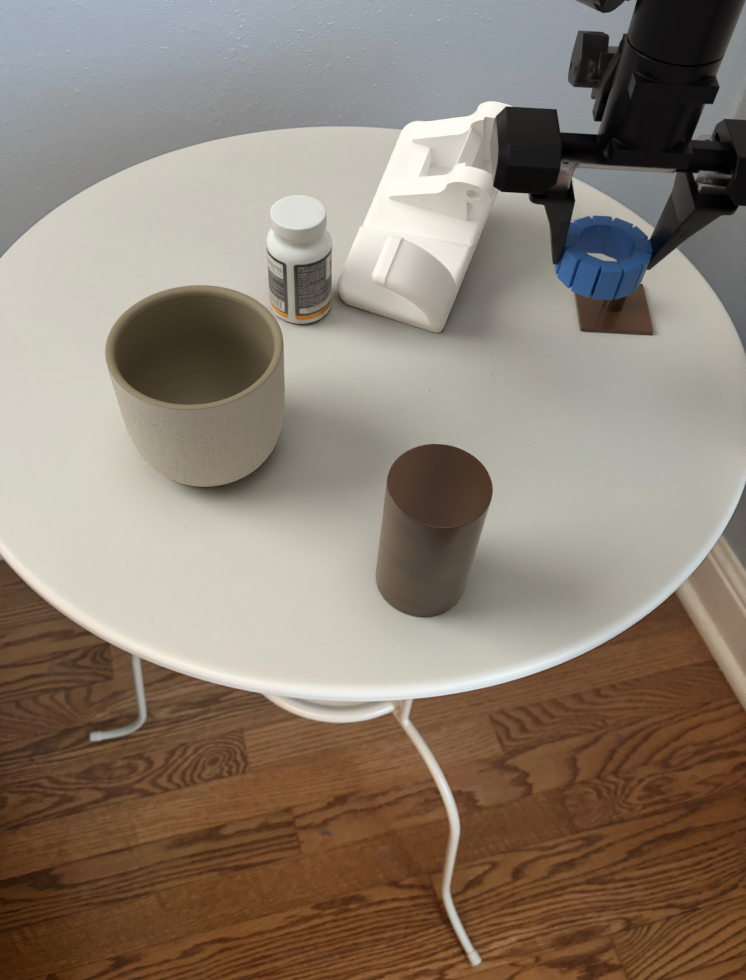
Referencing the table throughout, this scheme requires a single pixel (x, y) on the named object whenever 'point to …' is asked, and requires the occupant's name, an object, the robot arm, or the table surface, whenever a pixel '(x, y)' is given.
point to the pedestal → (431, 527)
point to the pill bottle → (299, 259)
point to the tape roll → (597, 274)
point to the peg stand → (615, 314)
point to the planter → (199, 382)
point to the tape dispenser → (424, 221)
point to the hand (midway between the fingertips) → (600, 263)
